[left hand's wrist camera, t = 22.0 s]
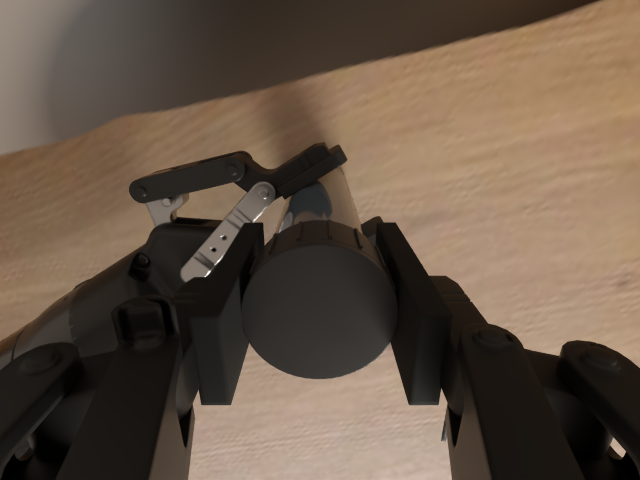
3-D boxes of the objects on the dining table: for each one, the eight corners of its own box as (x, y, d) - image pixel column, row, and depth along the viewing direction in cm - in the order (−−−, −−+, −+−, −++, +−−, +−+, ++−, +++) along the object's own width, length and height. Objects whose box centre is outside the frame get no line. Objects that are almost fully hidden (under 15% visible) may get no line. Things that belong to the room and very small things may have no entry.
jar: (312, 148, 24) (303, 214, 10) (358, 181, 25) (408, 284, 11) (281, 194, 26) (233, 310, 11) (326, 224, 26) (333, 367, 12)
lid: (226, 254, 12) (207, 285, 10) (353, 194, 11) (361, 214, 9) (291, 355, 13) (286, 399, 11) (407, 309, 12) (423, 347, 11)
